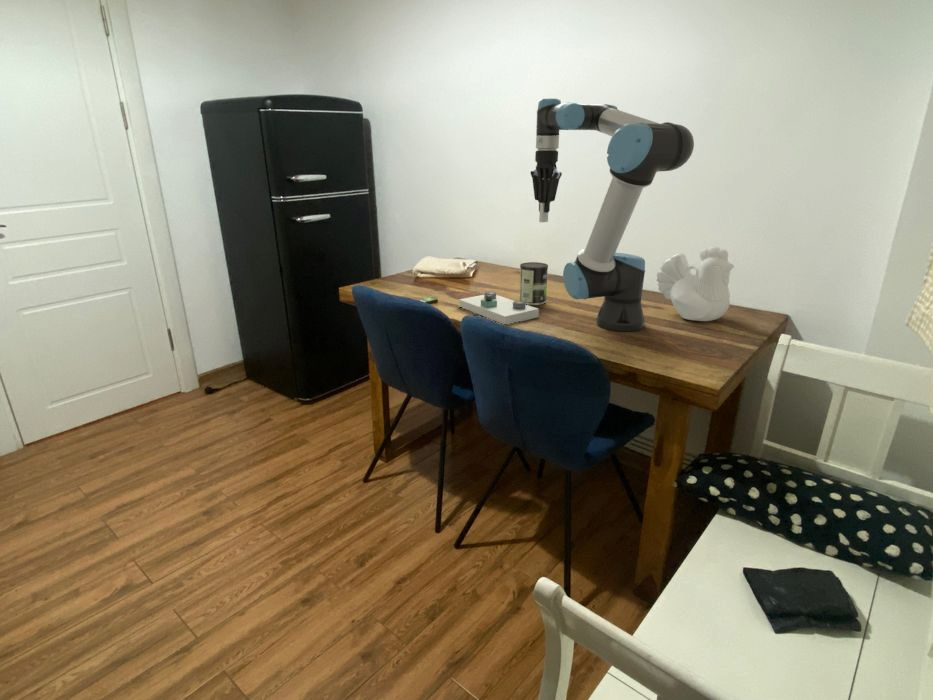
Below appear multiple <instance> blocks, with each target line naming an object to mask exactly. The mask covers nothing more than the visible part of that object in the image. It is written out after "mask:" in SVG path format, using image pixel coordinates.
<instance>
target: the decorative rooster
mask: <svg viewBox="0 0 933 700" xmlns="http://www.w3.org/2000/svg"><path fill="white" fill-rule="evenodd" d="M699 257H700V260H701V263H700V266H699V265H697V264H690V265H689V262H688V258H687V256H686V254H684V253H683V252H680V253H679V252H678V253H676V254H673V255H672V256H671V257H670V258H668V259H666V260H665V261H664V262H663V263H662V265H661V266H660V268H659V270H658V272H657V273H656V282H658V283H657V286H658V290H659V293H661V294H663V297H664V298H665V299H666V300H669V301H671V303H672V305H673V307H674V309H675V311H676V313H678V314H679V316H680V317H681V318H682V319H684V320H689V321H699V322H710V321H714V320H718V319H720V318H721V317H723V315H724V314H726V312H727V311H728V309H729V307H730V303H731V299H730V298H731V294H730V290H729V283H730V275H731V270H733V269H734V267H735V265H734V264H732V263H730V262H729V259H728V258H729V252H728V251H727V250H726V249H723V248H722V249H721V248H720V247H717V246H710V247H707V248H706V247H704V248H702V249H701V251H700V252H699ZM692 269H693V270H695V272H696V273H695V274H693V273H692V272H691V270H692Z"/></svg>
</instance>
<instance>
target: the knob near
mask: <svg viewBox="0 0 933 700" xmlns="http://www.w3.org/2000/svg"><path fill="white" fill-rule="evenodd" d="M513 301H514V302H513V308H514V309H525V308H526V302H524V301H519V300H513Z"/></svg>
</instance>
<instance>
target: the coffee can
mask: <svg viewBox="0 0 933 700" xmlns="http://www.w3.org/2000/svg"><path fill="white" fill-rule="evenodd" d="M519 267H520V270H519V300H518V301H524V302H526V304H527V305H529V306H540V305H544V303H545V304H546V303H547V289H548V287H547V286H548V285H547V284H548V269H549V264H547V263H544V262H536V261H531V262H522V263H520V265H519Z"/></svg>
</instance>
